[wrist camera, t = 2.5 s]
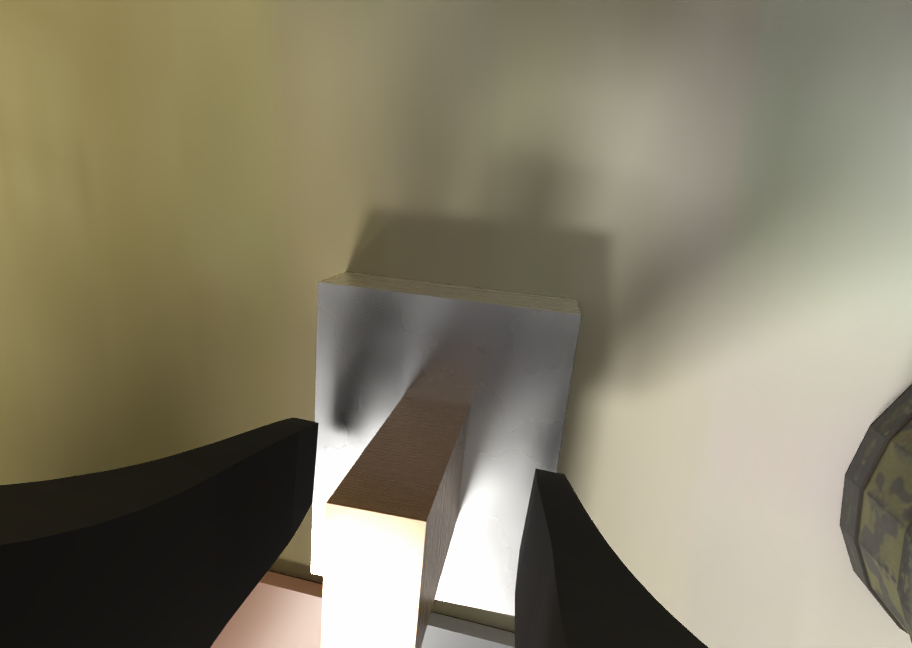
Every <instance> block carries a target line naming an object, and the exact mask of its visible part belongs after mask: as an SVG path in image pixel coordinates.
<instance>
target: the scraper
mask: <svg viewBox="0 0 912 648" xmlns="http://www.w3.org/2000/svg"><path fill="white" fill-rule="evenodd" d="M580 319H581V313H580V309H579V306H578V302H577V300H574V299H566V298H558V297H550V296H541V295H533V294H525V293H517V292H508V291H500V290H492V289H484V288H475V287H467V286H459V285H450V284H442V283H434V282H426V281H417V280H409V279H401V278H393V277H384V276H376V275H368V274H360V273H351V272H344V273H341V274H339V275H336V276H333V277H331V278H328V279H325V280H322V281H320V282H318V310H317V350H316V390H315V422H317V423H319V425H318V439H317V452H316V465H315V478H314V491H313V510H312V550H311V573H312V574H316V575H321V576H323V600H322V631H321V648H421V646H422V643H423V639H424V636H425V632H426V629H427V625H428V621H429V618H430V614H431V611H432V607H433V604H434V600H435V599H436V600H440V601H445V602H450V603H455V604H460V605H464V606H469V607H474V608H479V609H483V610H488V611H493V612H498V613H503V614H507V615H512V616H515V586H516V577H517V568H518V559H519V550H520V545H521V540H522V535H523V530H524V525H525V519H526V514H527V509H528V504H529V499H530V494H531V489H532V484H533V479H534V474H535V469H541V470H546V471H550V472H555V473H557V466H558V460H559V454H560V447H561V441H562V434H563V428H564V422H565V415H566V409H567V402H568V396H569V390H570V383H571V377H572V370H573V364H574V358H575V351H576V345H577V339H578V332H579V326H580Z"/></svg>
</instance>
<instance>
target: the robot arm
mask: <svg viewBox="0 0 912 648" xmlns="http://www.w3.org/2000/svg"><path fill="white" fill-rule="evenodd" d="M318 425H319V423H317V422H312V421H307V420H303V419H298V418H290V419H285V420H282V421H278V422H275V423H272V424H269V425H266V426H263V427H260V428H257V429H254V430H251V431H248V432H245V433H242V434H239V435H236V436H233V437H230V438H228V439H225V440H222V441H219V442H216V443H213V444H209V445H206V446H203V447H199V448H196V449H193V450H189V451H186V452H183V453H180V454H176V455H173V456H170V457H166V458H162V459H158V460H154V461H150V462H146V463H142V464H138V465H133V466H128V467H124V468H119V469H115V470H109V471H104V472H98V473H92V474H85V475H79V476H73V477H66V478H60V479H54V480H47V481H39V482H30V483H20V484H11V485H0V648H211V646H212V645H213V643H214V642H215V640H216V639H217V637H218V636H219V635H220V633H221V632H222V630H223V629H224V627H225V626H226V625H227V623H228V622H229V621H230V619H231V618H232V617H233V615H234V614H235V613H236V612H237V610H238V609H239V608H240V606H241V605H242V604H243V602H244V601H245V600H246V598H247V597H248V596H249V595H250V593H251V592H252V591H253V589H254V588H255V587H256V585H257V584H258V583H259V582H260V580H261V579H262V578H263V576H264V575H265V574H266V572H267V571H268V570H269V569H270V567H271V566H272V565H273V563H274V562H275V561H276V559H277V558H278V557H279V555H280V554H281V553H282V551H283V550H284V549H285V547H286V546H287V545H288V543H289V542H290V541H291V539H292V538H293V536H294V534H295V532H296V531H297V529H298V527H299V526H300V524H301V522H302V520H303V519H304V517H305V515H306V513H307V511H308V509H309V508H310V506H311V504H312V502H313V491H314V478H315V465H316V452H317V439H318ZM515 648H708V647H707V646H706V645H705V644H703V643H702V642H701V641H700V640H699V639H698V638H696V637H695V636H694V635H693V634H692V633H691V632H690V631H689V630H688V629H687V628H685V627H684V626H683V625H682V624H681V623H680V622H679V621H678V620H677V619H675V618H674V617H673V616H672V615H671V614H670V613H669V612H668V611H667V610H666V609H665V608H664V607H663V606H662V605H661V604H660V603H659V602H658V601H657V600H656V599H655V598H654V597H653V596H652V595H651V594H650V593H649V592H648V591H647V589H646V588H645V587H644V586H643V585H642V584H641V583H640V582H639V581H638V580H637V579H636V578H635V577H634V575H633V574H632V573H631V572H630V571H629V570H628V568H627V567H626V566H625V565H624V564H623V562H622V561H621V560H620V559H619V557H618V556H617V555H616V553H615V552H614V551H613V550H612V548H611V547H610V546H609V544H608V543H607V542H606V540H605V539H604V538H603V536H602V535H601V533H600V532H599V530H598V529H597V527H596V526H595V524H594V523H593V521H592V520H591V518H590V517H589V515H588V513H587V512H586V510H585V509H584V507H583V505H582V504H581V502H580V500H579V499H578V497H577V495H576V493H575V492H574V490H573V488H572V486H571V485H570V483H569V481H568V480H567V478H566V476H565V475H564V474H560V473H555V472H550V471H546V470H541V469H535V474H534V479H533V484H532V489H531V494H530V499H529V504H528V509H527V514H526V519H525V525H524V530H523V535H522V540H521V545H520V550H519V559H518V568H517V577H516V586H515Z"/></svg>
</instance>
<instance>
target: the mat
mask: <svg viewBox="0 0 912 648" xmlns="http://www.w3.org/2000/svg"><path fill="white" fill-rule="evenodd" d="M322 600H323V585H322V584H318V583H314V582H310V581H306V580H302V579H298V578H294V577H290V576H286V575H282V574H278V573H274V572H270V571H267V572H266V574H265V575H264V576H263V578H262V579H261V580H260V582H259V583H258V584H257V585H256V587H255V588H254V589H253V591H252V592H251V593H250V595H249V596H248V597H247V598H246V600H245V601H244V602H243V604H242V605H241V606H240V608H239V609H238V610H237V612H236V613H235V614H234V615H233V617H232V618H231V619H230V621H229V622H228V623H227V625H226V626H225V627H224V629H223V630H222V632H221V633H220V635H219V636H218V637H217V639H216V640H215V642H214V643H213V645H212V646H211V648H321V631H322ZM421 648H515V633H512V632H508V631H504V630H500V629H497V628H493V627H489V626H485V625H481V624H477V623H473V622H469V621H465V620H461V619H457V618H453V617H449V616H445V615H441V614H437V613H433V612H431V614H430V618H429V621H428V625H427V629H426V632H425V636H424V639H423V643H422V646H421Z"/></svg>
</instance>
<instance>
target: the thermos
mask: <svg viewBox="0 0 912 648" xmlns="http://www.w3.org/2000/svg"><path fill="white" fill-rule="evenodd" d="M840 527H841V530H842V534H843V537H844V540H845V544H846V547H847V551H848V554H849V557H850V561H851V564H852V567H853V570H854V572H855V573H856V574H857V575H858V577H859V578H860V579H861V581H862V582H863V583H864V584H865V586H866V587H867V588H868V589H869V591H870V592H871V593H872V595H873V596H874V597H875V598H876V600H877V601H878V602H879V603H880V605H881V606H882V607H883V609H884V610H885V611H886V612H887V613H888V615H889V616H890V617H891V618H892V620H893V621H894V622H895V623H896V624H897V626H898V627H899V628H900V629H902V630H903V631H905V632H906V633H908V634H909V635H910V638H911V642H912V385H911V386H910V387H909V388H908V389H907V390H906V391H905V392H904V393H903V394H902V395H901V396H900V397H899V398H898V399H897V400H896V401H895V402H894V403H893V404H892V405H891V406H890V407H889V408H888V409H887V410H886V411H885V412H884V413H883V414H882V415H881V416H880V417H879V418H878V419H877V420H876V421H875V422H874V423H873V424H872V425H871V426H870V428H869V430H868V432H867V434H866V436H865V438H864V440H863V442H862V443H861V445H860V447H859V449H858V451H857V453H856V455H855V457H854V459H853V461H852V463H851V465H850V467H849V469H848V471H847V473H846V475H845V481H844V490H843V499H842V509H841V518H840Z"/></svg>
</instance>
